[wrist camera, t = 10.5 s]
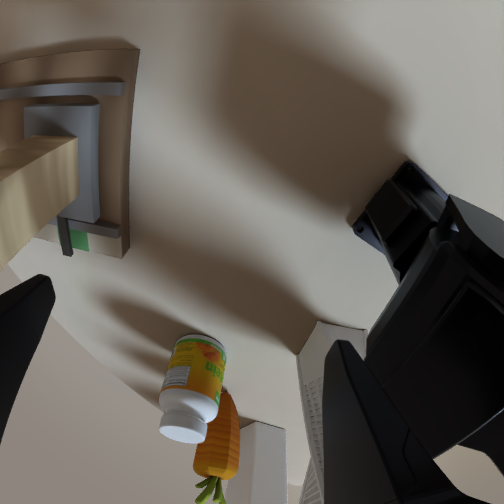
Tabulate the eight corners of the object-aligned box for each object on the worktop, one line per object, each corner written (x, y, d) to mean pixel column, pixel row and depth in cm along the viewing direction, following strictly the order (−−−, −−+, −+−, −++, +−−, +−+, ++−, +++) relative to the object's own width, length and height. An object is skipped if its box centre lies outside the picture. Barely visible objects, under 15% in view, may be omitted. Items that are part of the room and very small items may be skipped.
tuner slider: (100, 103, 15) (-57, 176, 6) (103, 256, 22) (26, 378, 12) (32, 104, 15) (-104, 170, 5) (45, 241, 21) (-36, 342, 12)
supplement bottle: (236, 360, 30) (224, 446, 22) (192, 367, 32) (174, 446, 24) (211, 328, 28) (191, 421, 20) (165, 337, 29) (138, 421, 21)
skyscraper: (345, 371, 31) (356, 618, 7) (280, 362, 30) (265, 632, 7) (382, 324, 26) (420, 626, 3) (309, 310, 26) (309, 659, 2)
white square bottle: (231, 430, 41) (215, 558, 23) (255, 418, 38) (242, 563, 20) (265, 440, 43) (256, 560, 25) (291, 429, 40) (286, 563, 22)
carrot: (249, 401, 35) (239, 512, 23) (212, 401, 36) (194, 507, 24) (242, 381, 33) (227, 506, 20) (200, 381, 33) (177, 500, 21)
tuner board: (140, 49, 15) (125, 48, 13) (129, 247, 23) (119, 262, 21) (-8, 66, 14) (-25, 70, 12) (4, 218, 22) (-9, 229, 21)
